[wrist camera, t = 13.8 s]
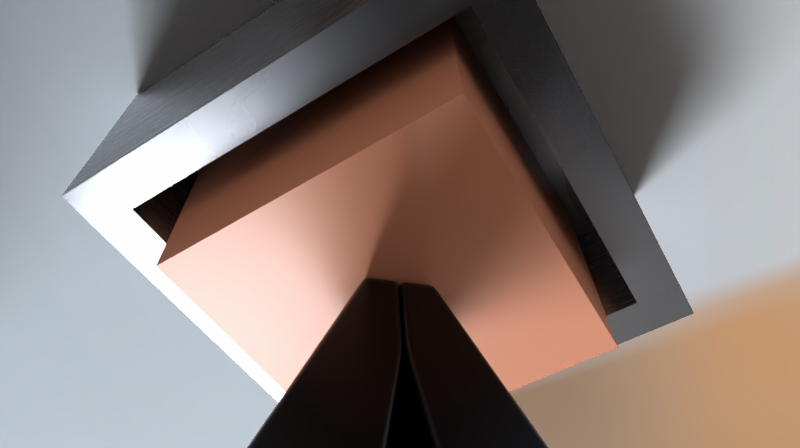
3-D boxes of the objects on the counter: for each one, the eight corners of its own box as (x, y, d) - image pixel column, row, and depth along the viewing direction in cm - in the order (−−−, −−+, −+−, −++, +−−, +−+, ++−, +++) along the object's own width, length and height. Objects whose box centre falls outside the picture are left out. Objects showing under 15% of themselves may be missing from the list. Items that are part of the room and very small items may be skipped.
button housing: (348, 333, 14) (338, 459, 12) (135, 96, 11) (61, 196, 9) (633, 198, 12) (693, 313, 10) (468, -125, 9) (495, -79, 7)
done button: (360, 314, 12) (351, 456, 10) (212, 143, 10) (155, 266, 8) (569, 214, 11) (617, 347, 9) (445, 1, 9) (463, 93, 7)
